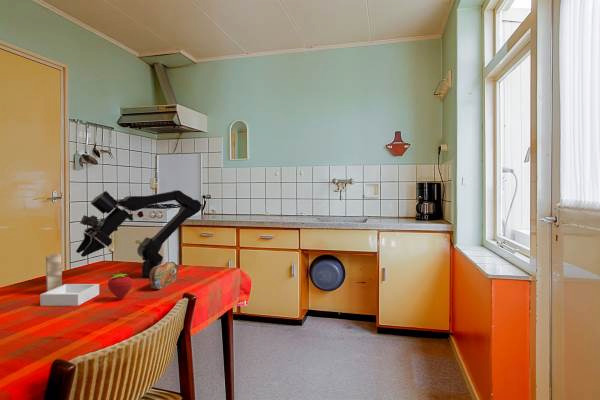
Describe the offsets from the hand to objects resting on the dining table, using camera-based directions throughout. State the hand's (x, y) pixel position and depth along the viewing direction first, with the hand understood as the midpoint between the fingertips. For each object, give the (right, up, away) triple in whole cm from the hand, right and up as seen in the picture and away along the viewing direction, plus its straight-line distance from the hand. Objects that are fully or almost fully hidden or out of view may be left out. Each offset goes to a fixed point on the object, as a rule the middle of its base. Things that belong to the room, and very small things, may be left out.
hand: (79, 254), depth 127 cm
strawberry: (+21, -13, -13) cm, 28 cm away
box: (+5, -13, -13) cm, 19 cm away
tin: (+29, -13, +3) cm, 32 cm away
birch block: (-6, -13, -5) cm, 15 cm away
